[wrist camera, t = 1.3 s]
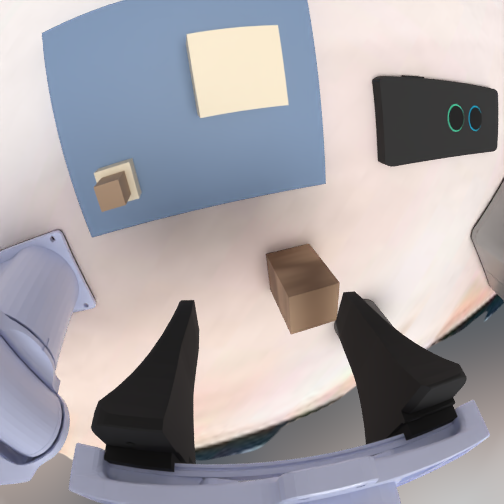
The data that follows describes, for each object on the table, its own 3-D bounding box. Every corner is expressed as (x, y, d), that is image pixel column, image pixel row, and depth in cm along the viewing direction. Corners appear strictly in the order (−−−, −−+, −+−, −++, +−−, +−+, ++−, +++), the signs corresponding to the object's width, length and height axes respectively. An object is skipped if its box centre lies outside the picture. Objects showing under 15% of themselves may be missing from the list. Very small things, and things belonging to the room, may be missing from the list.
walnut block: (270, 289, 27) (291, 334, 22) (265, 253, 25) (288, 297, 20) (309, 278, 28) (336, 320, 23) (308, 243, 26) (339, 282, 21)
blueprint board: (96, 228, 20) (80, 260, 16) (50, 36, 12) (20, 26, 8) (317, 178, 23) (346, 198, 19) (295, -13, 14) (323, -33, 10)
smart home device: (497, 152, 24) (386, 170, 22) (487, 148, 26) (374, 164, 24) (498, 89, 20) (379, 74, 18) (488, 86, 21) (367, 74, 19)
